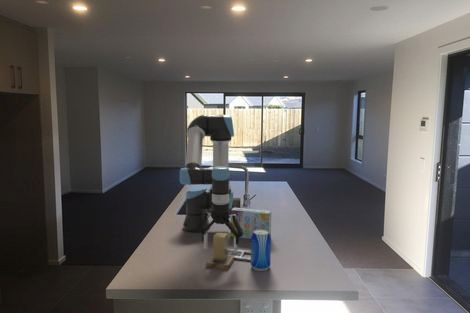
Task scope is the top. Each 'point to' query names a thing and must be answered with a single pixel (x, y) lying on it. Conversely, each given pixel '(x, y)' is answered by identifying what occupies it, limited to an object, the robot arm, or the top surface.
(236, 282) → the top surface
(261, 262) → the beer can
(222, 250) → the brass rectangular block
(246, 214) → the snack box
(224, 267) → the pad
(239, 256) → the grey slotted plate
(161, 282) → the top surface
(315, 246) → the top surface
